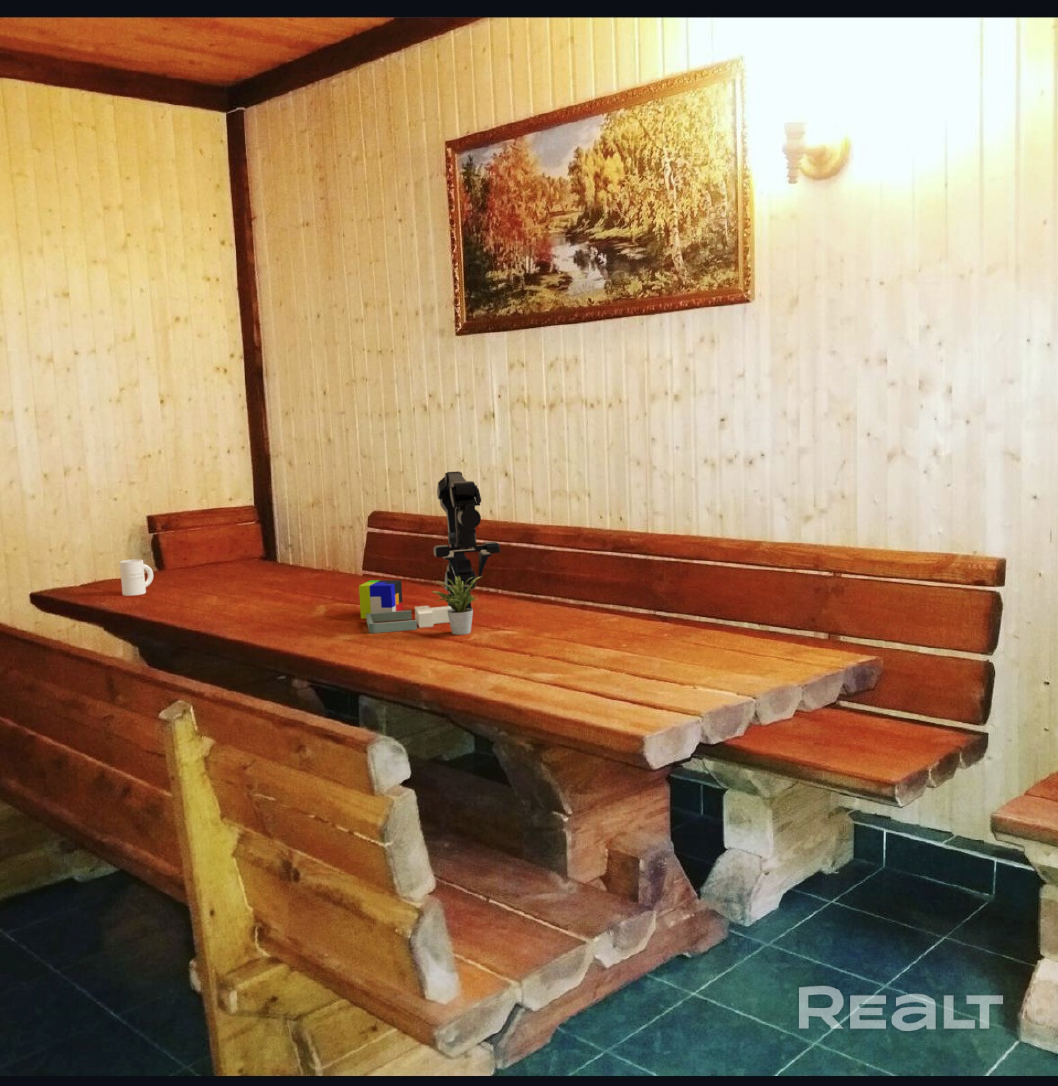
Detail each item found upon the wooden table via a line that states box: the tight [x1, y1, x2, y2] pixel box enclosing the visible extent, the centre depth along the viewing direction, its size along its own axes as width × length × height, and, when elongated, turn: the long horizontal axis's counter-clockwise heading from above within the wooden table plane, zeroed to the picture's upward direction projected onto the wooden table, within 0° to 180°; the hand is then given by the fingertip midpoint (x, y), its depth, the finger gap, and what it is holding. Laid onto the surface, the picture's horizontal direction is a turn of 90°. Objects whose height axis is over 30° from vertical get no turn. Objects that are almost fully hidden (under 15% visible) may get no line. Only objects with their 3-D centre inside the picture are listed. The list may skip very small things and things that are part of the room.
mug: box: [119, 558, 154, 597], centre depth 401 cm, size 8×12×12 cm
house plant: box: [431, 575, 483, 636], centre depth 306 cm, size 14×14×16 cm
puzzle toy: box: [358, 579, 404, 619], centre depth 337 cm, size 10×10×10 cm
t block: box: [414, 605, 452, 629], centre depth 322 cm, size 10×12×4 cm
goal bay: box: [365, 609, 418, 634], centre depth 320 cm, size 13×17×2 cm
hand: (468, 578), depth 323 cm, fingers open, 6 cm apart
